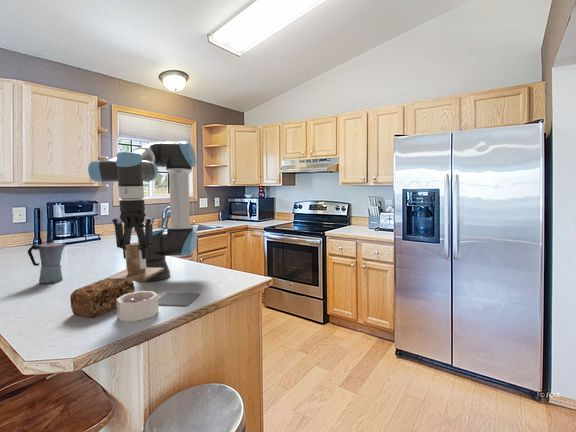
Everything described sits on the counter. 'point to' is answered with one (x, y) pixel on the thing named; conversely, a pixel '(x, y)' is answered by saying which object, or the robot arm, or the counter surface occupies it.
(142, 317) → the bowl
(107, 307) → the bread
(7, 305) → the counter surface
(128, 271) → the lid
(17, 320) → the counter surface
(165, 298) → the mat
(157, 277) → the robot arm
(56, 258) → the moka pot
